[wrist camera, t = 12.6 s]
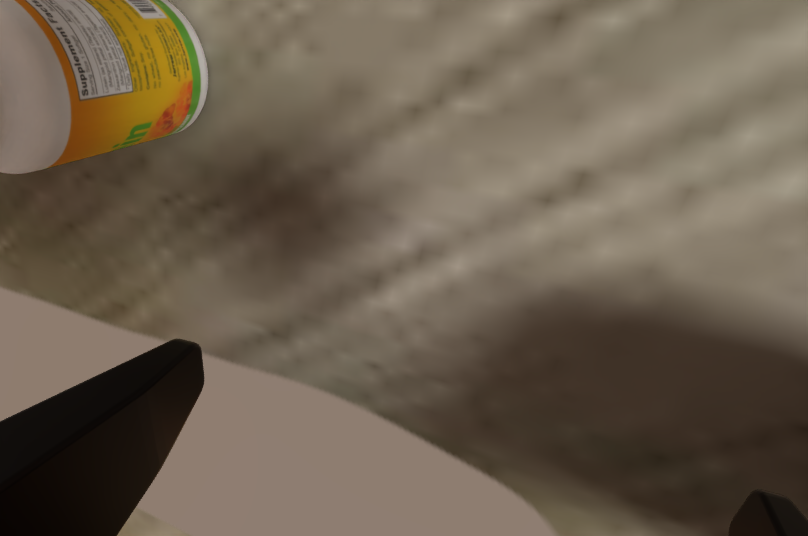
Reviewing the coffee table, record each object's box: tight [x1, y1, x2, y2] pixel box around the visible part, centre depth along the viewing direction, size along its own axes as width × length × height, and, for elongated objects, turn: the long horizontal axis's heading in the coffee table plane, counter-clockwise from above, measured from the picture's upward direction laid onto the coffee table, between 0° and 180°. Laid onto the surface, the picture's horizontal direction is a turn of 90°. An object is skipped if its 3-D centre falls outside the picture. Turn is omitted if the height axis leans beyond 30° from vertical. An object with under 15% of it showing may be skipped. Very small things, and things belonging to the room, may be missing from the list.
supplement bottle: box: [0, 0, 208, 174], centre depth 19 cm, size 5×5×10 cm
